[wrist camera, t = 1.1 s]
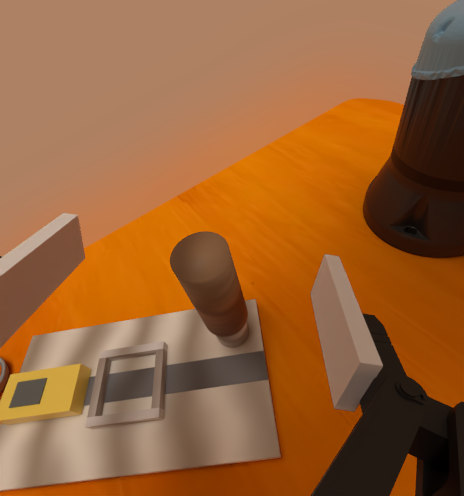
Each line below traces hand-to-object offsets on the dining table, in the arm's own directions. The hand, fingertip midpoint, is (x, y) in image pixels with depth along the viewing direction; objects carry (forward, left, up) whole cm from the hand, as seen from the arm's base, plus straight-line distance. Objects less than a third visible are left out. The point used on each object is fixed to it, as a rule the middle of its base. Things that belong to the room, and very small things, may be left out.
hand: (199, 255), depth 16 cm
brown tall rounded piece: (+1, -4, -18) cm, 18 cm away
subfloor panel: (+12, 0, -20) cm, 23 cm away
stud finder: (+21, 0, -18) cm, 28 cm away
